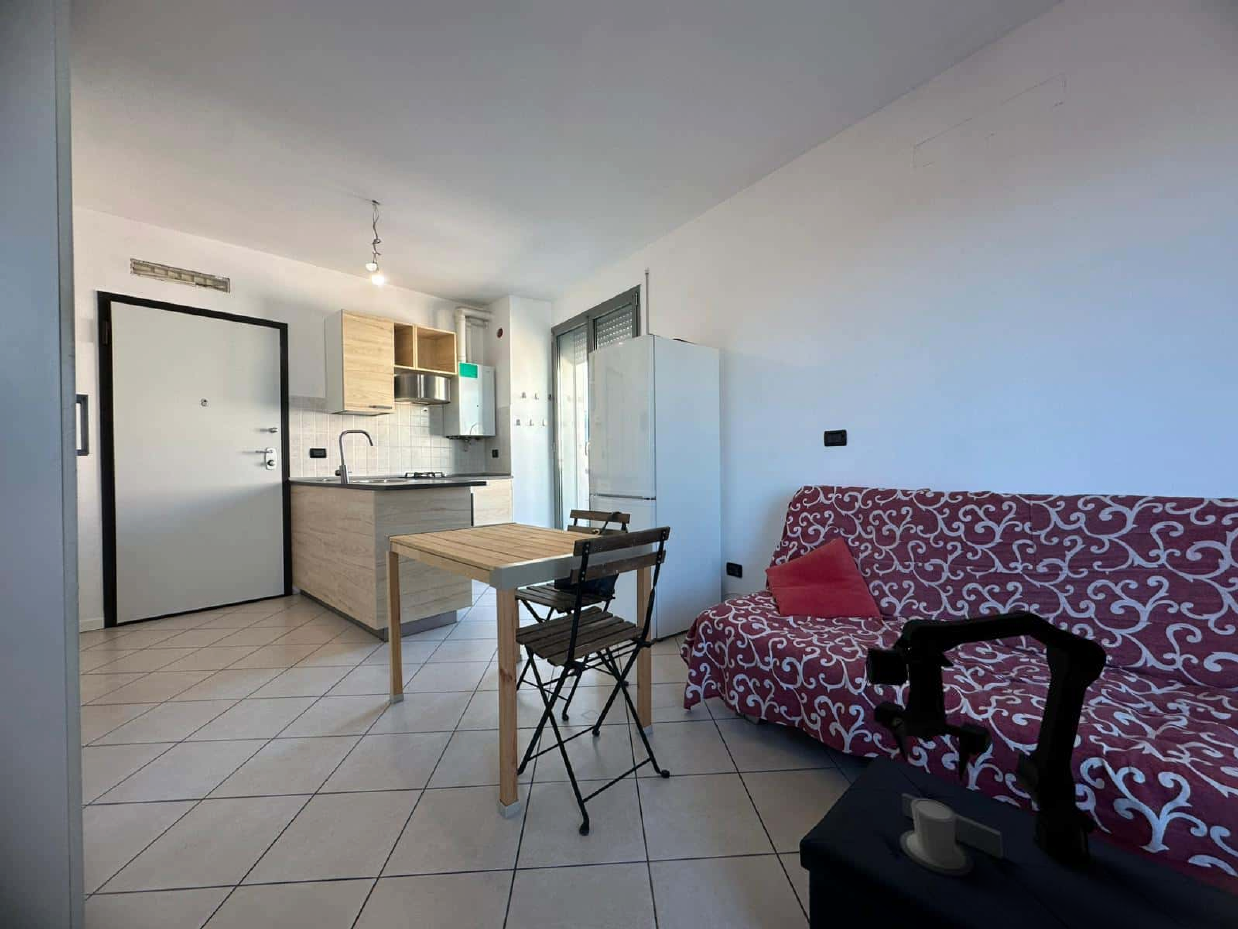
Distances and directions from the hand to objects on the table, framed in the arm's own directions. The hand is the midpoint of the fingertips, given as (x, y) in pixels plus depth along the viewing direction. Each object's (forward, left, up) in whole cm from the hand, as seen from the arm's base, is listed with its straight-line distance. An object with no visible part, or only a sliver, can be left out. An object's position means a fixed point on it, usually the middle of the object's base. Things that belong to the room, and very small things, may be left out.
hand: (932, 770), depth 92 cm
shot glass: (+3, +5, -12) cm, 13 cm away
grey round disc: (+3, +5, -12) cm, 13 cm away
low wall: (-2, 0, -12) cm, 12 cm away
